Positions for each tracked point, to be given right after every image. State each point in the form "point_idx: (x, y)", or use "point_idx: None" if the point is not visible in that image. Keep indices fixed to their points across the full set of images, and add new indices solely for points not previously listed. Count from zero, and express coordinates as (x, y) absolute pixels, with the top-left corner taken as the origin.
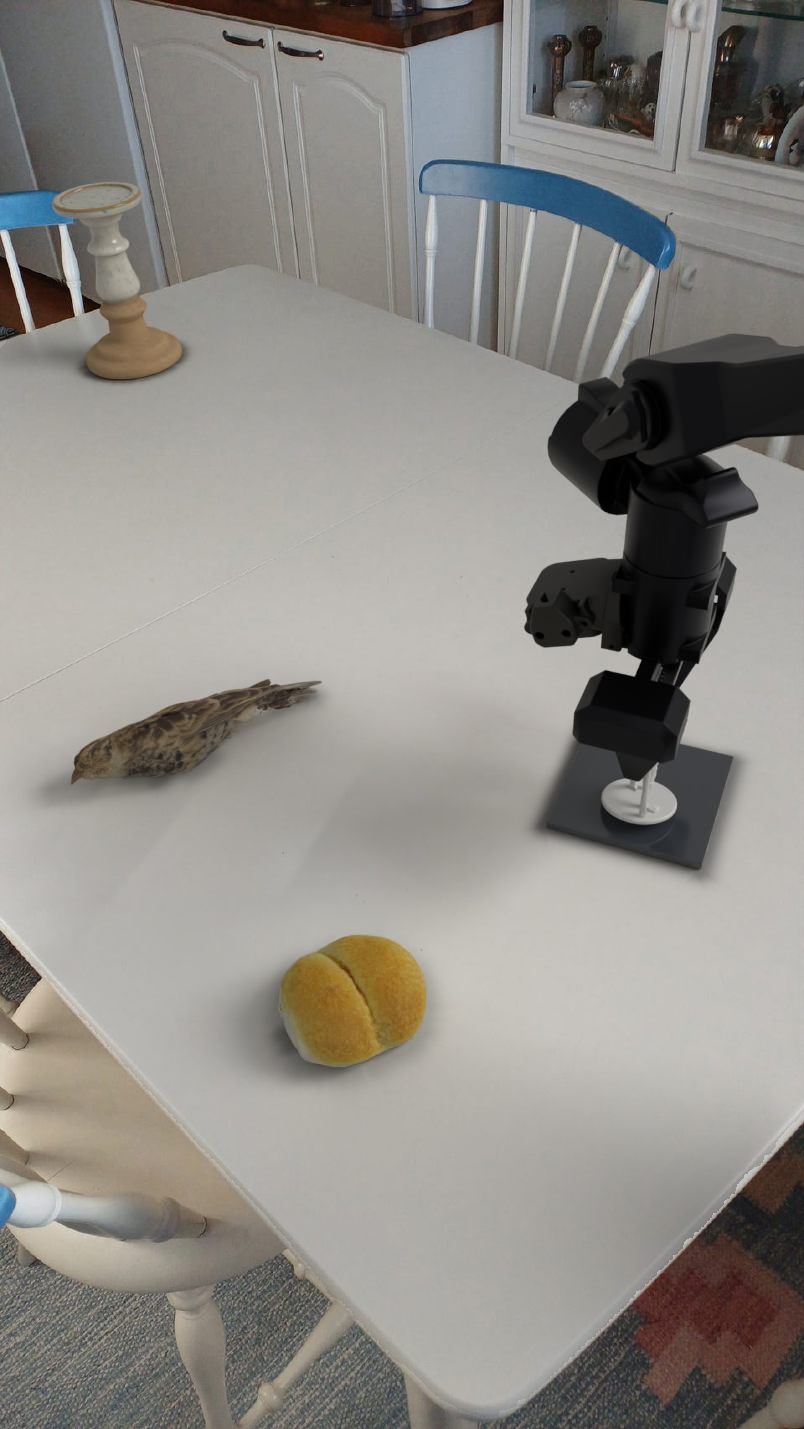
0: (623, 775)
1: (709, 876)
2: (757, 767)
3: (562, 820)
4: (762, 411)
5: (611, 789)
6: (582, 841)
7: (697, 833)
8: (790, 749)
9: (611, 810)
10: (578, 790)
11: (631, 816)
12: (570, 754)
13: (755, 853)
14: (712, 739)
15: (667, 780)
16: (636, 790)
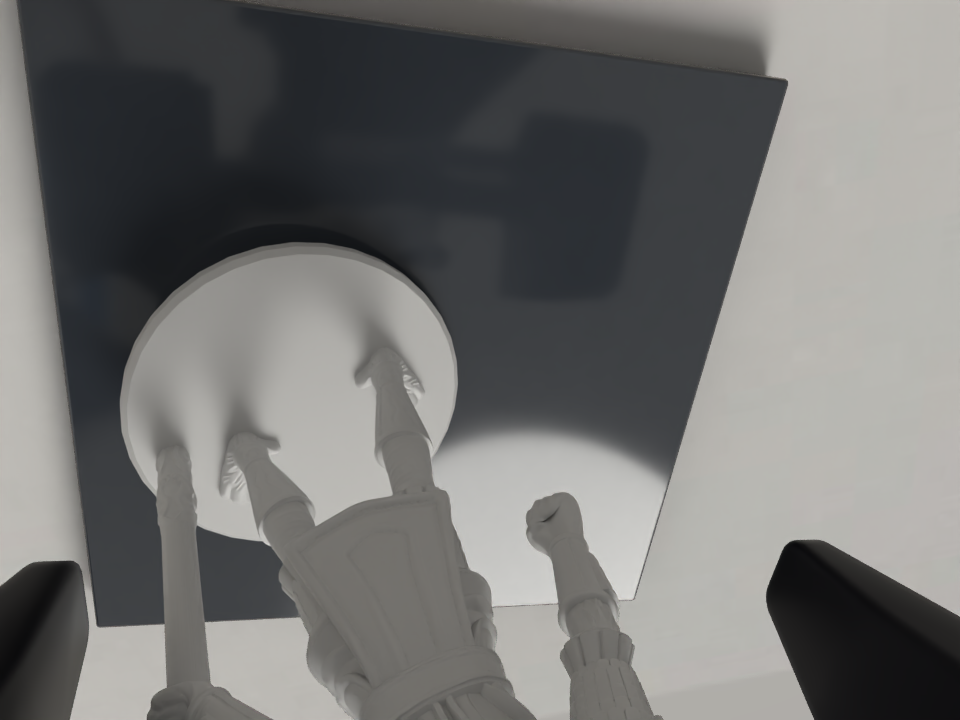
0: (11, 579)
1: (89, 628)
2: None
3: (70, 65)
4: None
5: (329, 284)
6: (31, 182)
7: (240, 587)
8: (691, 684)
9: (151, 328)
10: (318, 110)
11: (147, 420)
12: (590, 12)
13: (251, 702)
14: (720, 513)
15: (481, 450)
16: (358, 384)
